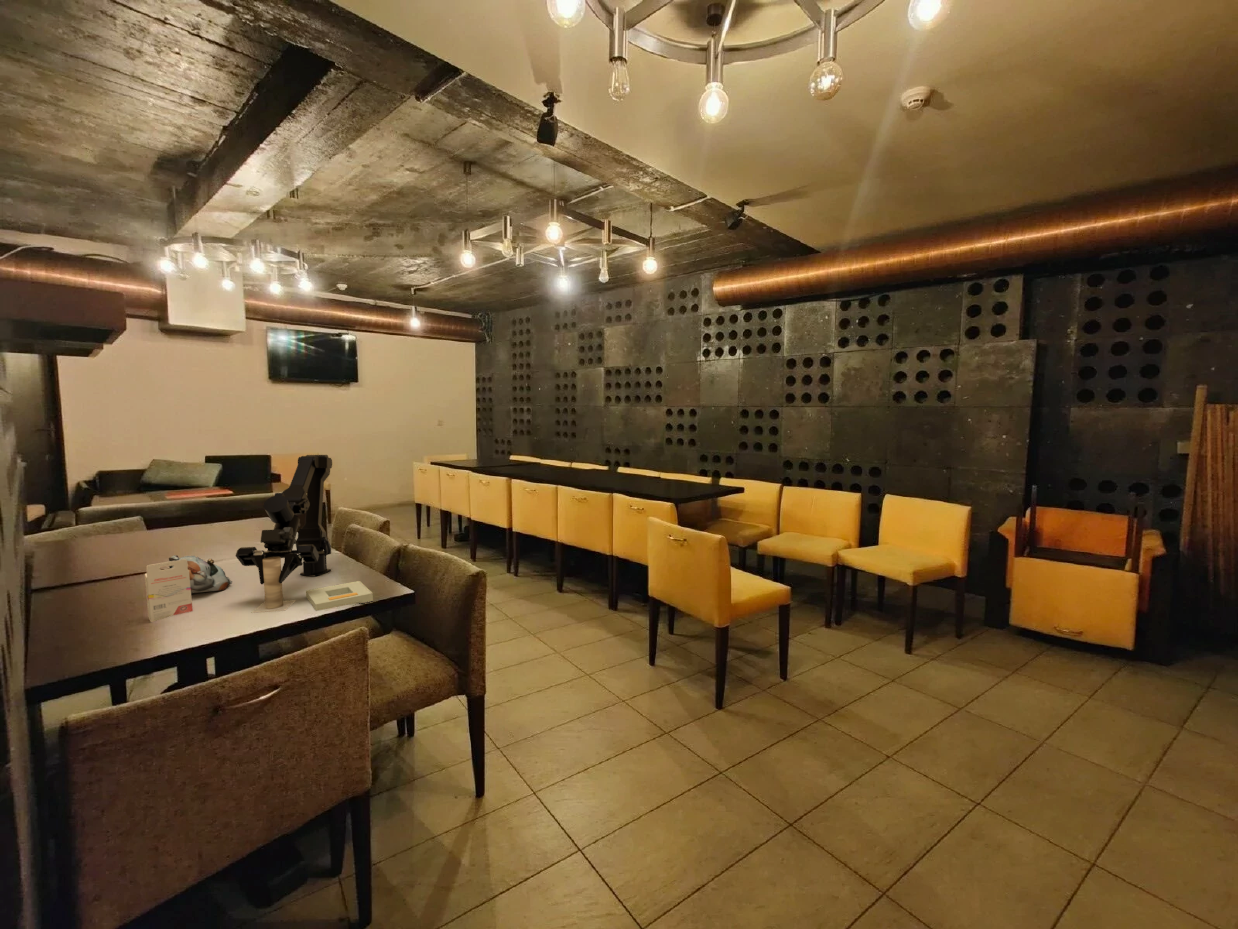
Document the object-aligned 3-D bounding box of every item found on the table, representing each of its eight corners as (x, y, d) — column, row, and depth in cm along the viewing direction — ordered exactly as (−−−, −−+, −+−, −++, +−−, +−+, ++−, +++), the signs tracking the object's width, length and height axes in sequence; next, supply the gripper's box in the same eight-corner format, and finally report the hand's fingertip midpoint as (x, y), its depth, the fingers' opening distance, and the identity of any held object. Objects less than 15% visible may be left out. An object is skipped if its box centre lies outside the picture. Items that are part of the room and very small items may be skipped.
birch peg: (274, 603, 146) (271, 556, 145) (286, 604, 145) (284, 557, 144) (261, 608, 142) (258, 560, 141) (274, 609, 141) (271, 561, 140)
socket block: (306, 599, 151) (305, 589, 151) (359, 589, 160) (359, 580, 160) (316, 613, 140) (315, 603, 140) (373, 602, 149) (372, 592, 149)
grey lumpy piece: (240, 586, 162) (225, 553, 154) (198, 613, 153) (179, 579, 145) (211, 566, 167) (194, 533, 159) (168, 591, 158) (148, 557, 150)
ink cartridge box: (189, 609, 143) (185, 555, 142) (193, 614, 140) (189, 558, 138) (147, 618, 137) (142, 561, 136) (149, 623, 134) (145, 565, 132)
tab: (264, 605, 147) (264, 602, 146) (296, 602, 148) (296, 600, 148) (251, 615, 139) (250, 612, 139) (285, 613, 141) (285, 610, 140)
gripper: (236, 518, 143) (218, 570, 133) (313, 515, 147) (300, 566, 137) (251, 540, 151) (235, 590, 142) (323, 537, 155) (312, 586, 146)
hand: (270, 583), depth 141 cm, fingers closed on birch peg, 4 cm apart
